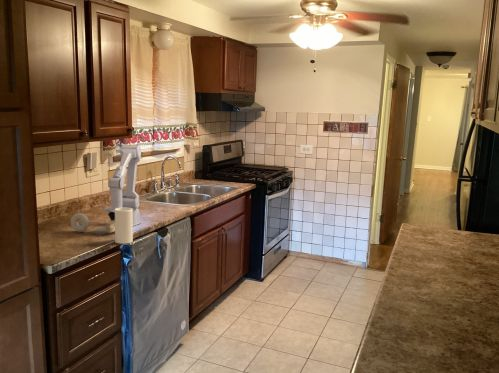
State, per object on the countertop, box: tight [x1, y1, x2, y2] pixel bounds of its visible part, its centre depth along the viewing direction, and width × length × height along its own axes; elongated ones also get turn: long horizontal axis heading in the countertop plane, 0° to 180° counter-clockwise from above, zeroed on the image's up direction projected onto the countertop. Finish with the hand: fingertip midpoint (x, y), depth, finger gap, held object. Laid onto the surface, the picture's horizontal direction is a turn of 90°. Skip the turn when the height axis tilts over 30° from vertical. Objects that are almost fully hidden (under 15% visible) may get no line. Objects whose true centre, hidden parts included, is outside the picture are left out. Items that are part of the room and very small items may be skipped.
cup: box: [114, 207, 134, 244], centre depth 216 cm, size 8×8×16 cm
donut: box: [70, 212, 90, 233], centre depth 231 cm, size 10×3×10 cm, turn 76°
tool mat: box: [88, 226, 109, 236], centre depth 237 cm, size 18×9×1 cm, turn 158°
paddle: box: [105, 220, 115, 234], centre depth 232 cm, size 14×2×5 cm, turn 158°
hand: (116, 226), depth 232 cm, fingers closed on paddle, 2 cm apart
